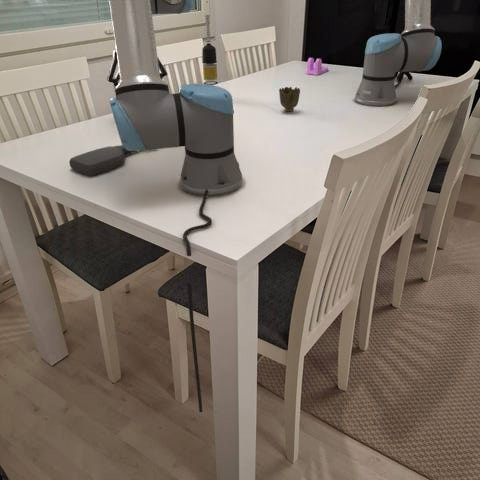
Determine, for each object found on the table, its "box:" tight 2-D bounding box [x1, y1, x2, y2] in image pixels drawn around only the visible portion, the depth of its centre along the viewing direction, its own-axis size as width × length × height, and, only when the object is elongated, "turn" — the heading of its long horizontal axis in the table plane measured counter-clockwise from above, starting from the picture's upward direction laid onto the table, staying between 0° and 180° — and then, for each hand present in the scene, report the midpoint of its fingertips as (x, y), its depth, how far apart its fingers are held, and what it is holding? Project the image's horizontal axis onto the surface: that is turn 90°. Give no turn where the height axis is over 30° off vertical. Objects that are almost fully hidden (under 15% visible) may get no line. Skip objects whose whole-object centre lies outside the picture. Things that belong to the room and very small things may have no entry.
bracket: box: [306, 57, 329, 76], centre depth 216 cm, size 13×6×7 cm, turn 143°
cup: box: [278, 86, 301, 114], centre depth 159 cm, size 8×7×8 cm
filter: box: [201, 14, 219, 86], centre depth 171 cm, size 6×6×30 cm
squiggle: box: [394, 71, 414, 83], centre depth 198 cm, size 11×10×15 cm
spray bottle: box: [68, 144, 138, 177], centre depth 124 cm, size 3×11×24 cm
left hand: (140, 100), depth 155 cm, fingers open, 13 cm apart
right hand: (479, 11), depth 128 cm, fingers open, 13 cm apart
